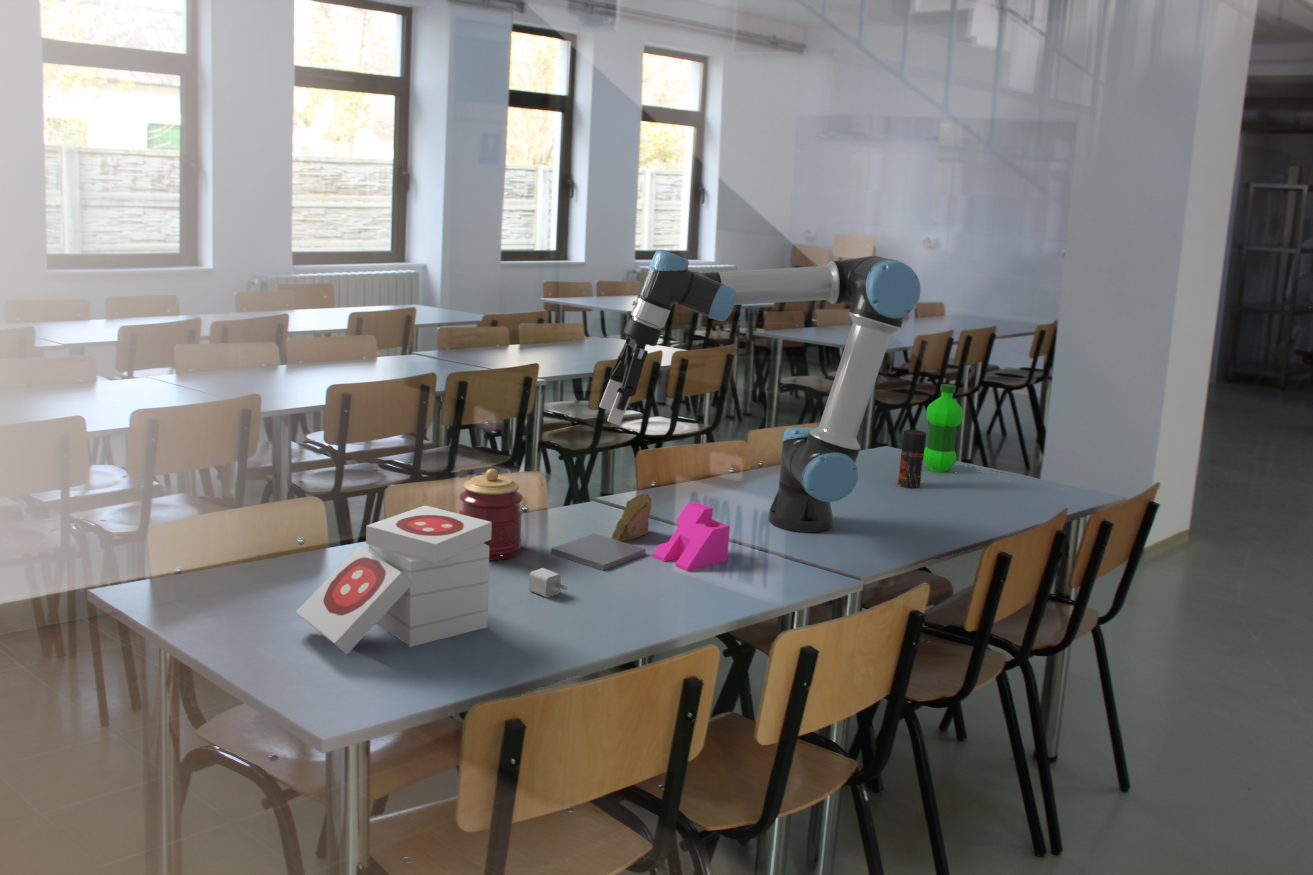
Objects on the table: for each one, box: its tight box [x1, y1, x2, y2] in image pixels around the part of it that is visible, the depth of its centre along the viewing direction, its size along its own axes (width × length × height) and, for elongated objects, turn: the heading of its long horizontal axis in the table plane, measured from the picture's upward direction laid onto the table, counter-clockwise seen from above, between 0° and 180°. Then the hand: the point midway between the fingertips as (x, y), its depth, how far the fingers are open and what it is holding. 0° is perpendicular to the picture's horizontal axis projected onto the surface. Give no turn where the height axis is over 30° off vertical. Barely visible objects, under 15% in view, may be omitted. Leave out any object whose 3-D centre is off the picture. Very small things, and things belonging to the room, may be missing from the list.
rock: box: [611, 493, 652, 542], centre depth 241 cm, size 11×9×10 cm
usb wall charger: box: [528, 567, 568, 598], centre depth 205 cm, size 4×7×4 cm, turn 51°
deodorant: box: [897, 429, 927, 490], centre depth 296 cm, size 6×6×15 cm
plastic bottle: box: [923, 383, 964, 473], centre depth 314 cm, size 10×10×25 cm
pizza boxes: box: [295, 505, 492, 655], centre depth 183 cm, size 19×30×18 cm, turn 131°
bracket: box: [652, 501, 731, 572], centre depth 228 cm, size 12×10×10 cm
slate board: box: [550, 533, 646, 571], centre depth 228 cm, size 14×14×1 cm
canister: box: [458, 468, 524, 561], centre depth 224 cm, size 13×13×18 cm
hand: (608, 416), depth 231 cm, fingers open, 13 cm apart
